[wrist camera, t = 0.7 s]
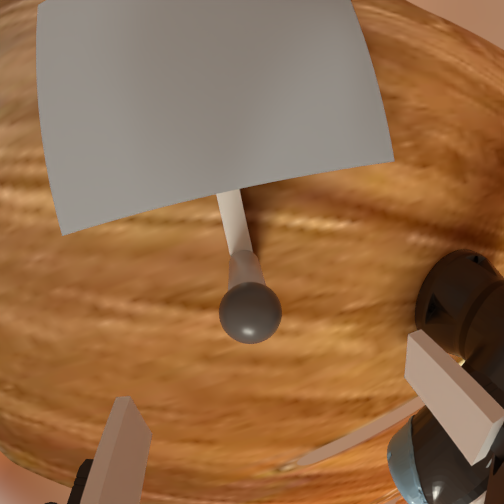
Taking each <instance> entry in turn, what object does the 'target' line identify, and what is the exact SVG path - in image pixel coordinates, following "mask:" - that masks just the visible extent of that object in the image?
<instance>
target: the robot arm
mask: <svg viewBox="0 0 504 504" xmlns="http://www.w3.org/2000/svg"><path fill="white" fill-rule="evenodd" d="M415 322H416V327H417V330H418V331H415V332H412V333H410V334H408V342H407V355H406V366H405V376H404V378H405V379H406V380H407V381H408V383H409V384H410V385H411V386H412V388H413V389H414V390H415V392H416V393H417V394H418V395H419V397H420V398H421V399H422V401H423V402H424V403H425V404H426V405H425V406H424V407H423V408H422V409H421V410H420V411H419V412H418V413H417V414H416V415H413V416H412V417H411V418H410V419H409V421H408V422H407V423H406V424H405V425H404V426H403V427H402V428H401V429H400V430H399V431H398V432H397V433H396V434H395V435H394V436H393V437H392V439H391V440H390V442H389V445H388V449H387V460H388V466H389V469H390V473H391V475H392V478H393V480H394V482H395V485H396V486H397V488H398V490H399V492H400V493H401V495H402V496H403V497H404V499H405V500H406V501H407V502H408V503H409V504H504V278H503V276H502V275H501V274H500V273H499V272H498V271H497V269H496V268H495V267H494V266H493V265H492V264H491V263H490V261H489V260H488V259H487V258H485V257H484V256H482V255H480V254H478V253H476V252H473V251H471V250H458V251H455V252H452V253H450V254H448V255H447V256H445V257H444V258H443V259H441V260H440V261H439V262H438V263H437V264H436V265H435V266H434V268H433V269H432V270H431V272H430V273H429V274H428V276H427V278H426V279H425V281H424V283H423V285H422V287H421V290H420V292H419V295H418V299H417V303H416V309H415ZM447 353H449V354H453V355H456V356H459V357H462V358H463V359H464V360H465V363H464V364H463V365H462V366H460V365H459V364H458V363H457V362H456V361H455V360H454V359H453V358H451V357H450V356H449V355H448V354H447ZM151 438H152V433H151V431H150V430H149V428H148V426H147V425H146V423H145V421H144V419H143V418H142V416H141V414H140V413H139V411H138V409H137V407H136V405H135V404H134V402H133V400H132V398H131V396H126V397H116V399H115V402H114V405H113V407H112V410H111V413H110V415H109V418H108V421H107V423H106V426H105V429H104V432H103V434H102V437H101V440H100V443H99V446H98V449H97V452H96V455H95V458H94V459H86V460H85V461H84V462H83V464H82V465H81V466H80V467H79V470H78V473H77V476H76V477H77V478H76V479H75V481H74V486H73V487H72V491H71V493H70V497H69V499H68V503H67V504H140V498H141V492H142V486H143V481H144V475H145V469H146V464H147V459H148V453H149V448H150V443H151ZM45 504H57V503H53V502H49V503H45Z"/></svg>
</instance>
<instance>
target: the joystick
mask: <svg viewBox="0 0 504 504" xmlns="http://www.w3.org/2000/svg"><path fill="white" fill-rule="evenodd" d="M216 195H217V200H218V204H219V208H220V213H221V217H222V222H223V226H224V230H225V234H226V239H227V243H228V247H229V252H230V256H231V259H230V261H229V283H228V292H227V293H226V294H225V295H224V297H223V299H222V301H221V304H220V308H219V318H220V322H221V325H222V327H223V329H224V330H225V332H226V333H227V334H228V335H229V336H230V337H231V338H233V339H235V340H236V341H239V342H241V343H246V344H255V343H260V342H262V341H265V340H266V339H268V338H269V337H271V336H272V335H273V334H274V333H275V332H276V330H277V328H278V326H279V324H280V322H281V317H282V309H281V304H280V301H279V299H278V297H277V296H276V294H275V293H274V292H273V291H272V290H271V289H270V288H269V287H267V286H266V284H265V280H264V277H263V273H262V270H261V267H260V263H259V260H258V258H257V256H256V255H255V254H254V253H253V250H252V245H251V240H250V236H249V231H248V227H247V222H246V217H245V213H244V208H243V204H242V199H241V194H240V190H239V189H236V190H232V191H227V192H223V193H218V194H216Z"/></svg>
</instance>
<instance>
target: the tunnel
mask: <svg viewBox="0 0 504 504" xmlns="http://www.w3.org/2000/svg"><path fill="white" fill-rule="evenodd" d="M36 72H37V93H38V106H39V116H40V125H41V134H42V141H43V148H44V154H45V160H46V166H47V172H48V177H49V182H50V187H51V192H52V196H53V201H54V205H55V209H56V214H57V218H58V222H59V225H60V229H61V233H62V236H64V235H67V234H70V233H73V232H76V231H80V230H83V229H86V228H89V227H93V226H96V225H99V224H103V223H106V222H110V221H113V220H117V219H120V218H124V217H127V216H131V215H135V214H138V213H142V212H146V211H149V210H153V209H157V208H161V207H165V206H169V205H173V204H177V203H181V202H185V201H189V200H193V199H197V198H201V197H205V196H210V195H214V194H218V193H223V192H227V191H232V190H236V189H241V188H245V187H250V186H255V185H260V184H265V183H269V182H274V181H280V180H285V179H290V178H295V177H300V176H306V175H311V174H317V173H323V172H328V171H334V170H340V169H347V168H353V167H359V166H366V165H372V164H379V163H386V162H394V156H393V150H392V145H391V139H390V134H389V129H388V124H387V120H386V115H385V111H384V106H383V102H382V98H381V94H380V90H379V86H378V83H377V79H376V75H375V72H374V68H373V65H372V61H371V58H370V55H369V51H368V48H367V45H366V42H365V39H364V36H363V33H362V30H361V27H360V24H359V22H358V19H357V16H356V13H355V11H354V8H353V6H352V3H351V0H46V1H44V2H42V3H41V4H39V5H38V14H37V33H36Z"/></svg>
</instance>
